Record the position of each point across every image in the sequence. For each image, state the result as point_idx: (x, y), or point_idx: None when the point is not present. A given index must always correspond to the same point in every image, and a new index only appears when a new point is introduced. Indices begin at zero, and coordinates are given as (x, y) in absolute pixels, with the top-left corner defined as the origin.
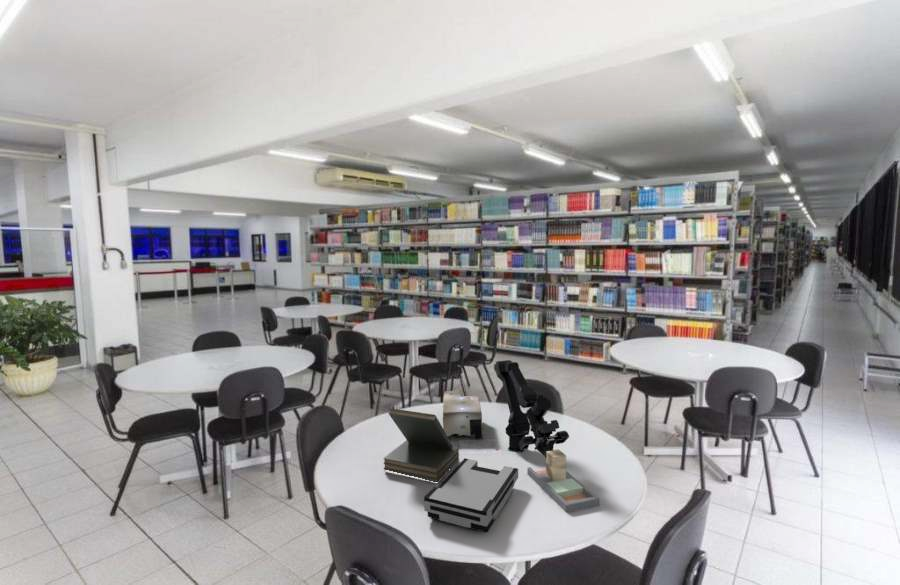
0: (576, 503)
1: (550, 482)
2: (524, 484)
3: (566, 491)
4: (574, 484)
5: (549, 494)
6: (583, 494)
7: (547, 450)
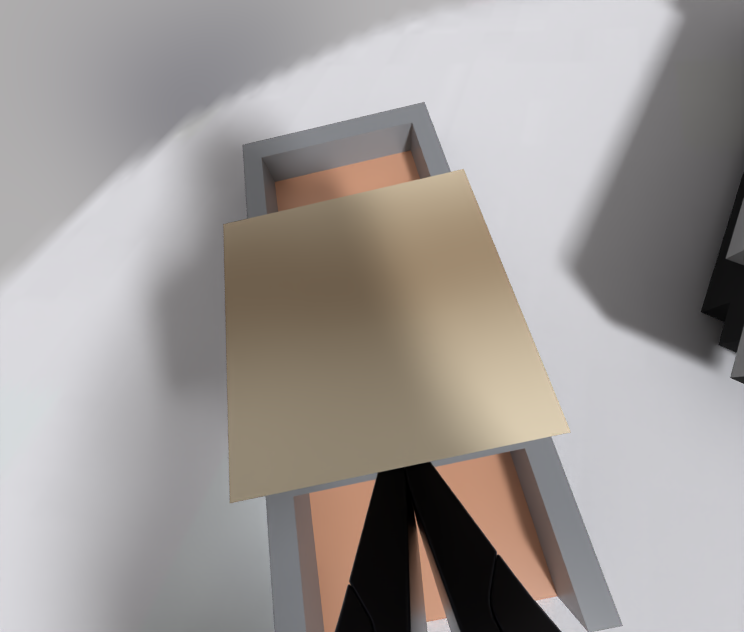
0: (367, 118)
1: None
2: (611, 407)
3: None
4: None
5: None
6: None
7: (485, 620)
